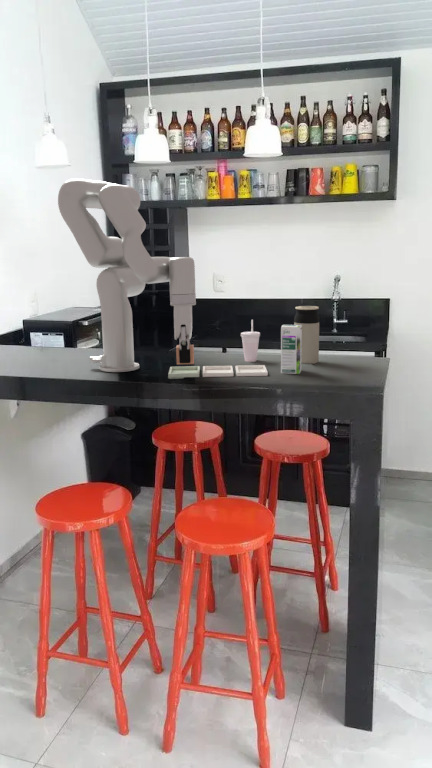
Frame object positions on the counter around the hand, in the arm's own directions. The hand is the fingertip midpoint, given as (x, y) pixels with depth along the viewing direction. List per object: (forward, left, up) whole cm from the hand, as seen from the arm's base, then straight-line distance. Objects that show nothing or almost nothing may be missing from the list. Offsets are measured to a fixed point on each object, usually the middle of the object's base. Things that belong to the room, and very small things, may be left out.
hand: (185, 360), depth 193 cm
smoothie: (+21, +19, -5) cm, 29 cm away
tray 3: (+20, 0, -4) cm, 20 cm away
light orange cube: (0, 0, -1) cm, 1 cm away
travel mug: (+39, +17, -5) cm, 43 cm away
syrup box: (+32, 0, -5) cm, 32 cm away
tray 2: (+10, 0, -4) cm, 11 cm away
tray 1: (0, 0, -4) cm, 4 cm away
